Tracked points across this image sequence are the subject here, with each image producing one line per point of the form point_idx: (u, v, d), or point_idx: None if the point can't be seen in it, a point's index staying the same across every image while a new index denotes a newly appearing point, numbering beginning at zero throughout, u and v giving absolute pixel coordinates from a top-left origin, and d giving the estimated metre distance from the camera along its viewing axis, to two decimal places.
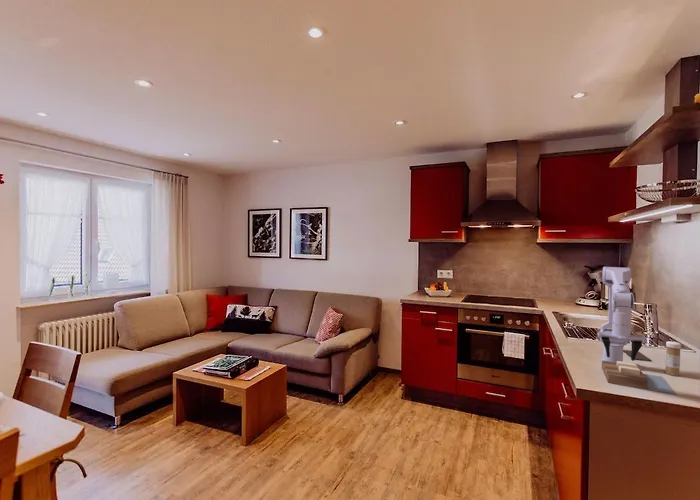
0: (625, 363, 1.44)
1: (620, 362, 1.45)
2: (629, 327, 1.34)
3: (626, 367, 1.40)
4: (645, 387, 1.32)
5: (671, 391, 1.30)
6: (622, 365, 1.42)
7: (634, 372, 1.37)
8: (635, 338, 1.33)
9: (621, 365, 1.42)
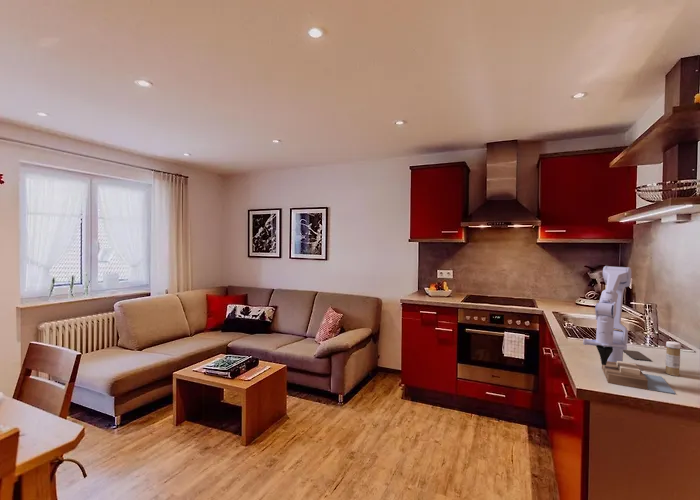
0: (625, 363, 1.44)
1: (620, 362, 1.45)
2: (611, 335, 1.43)
3: (626, 367, 1.40)
4: (645, 387, 1.32)
5: (671, 391, 1.30)
6: (622, 365, 1.42)
7: (634, 372, 1.37)
8: (617, 345, 1.42)
9: (621, 365, 1.42)
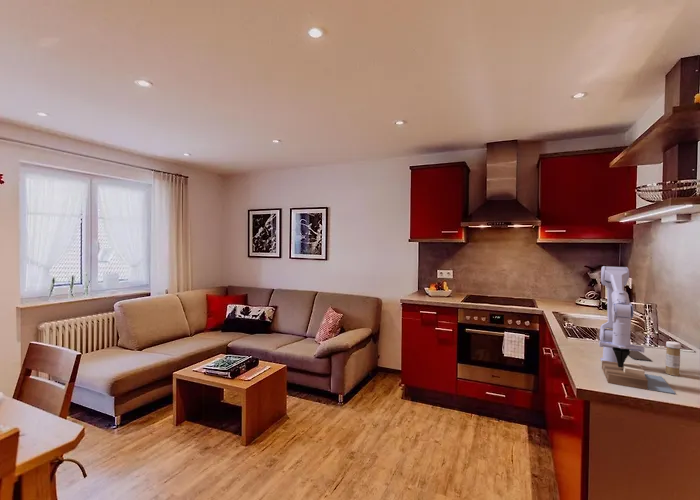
0: (629, 364, 1.43)
1: (624, 363, 1.44)
2: (628, 337, 1.40)
3: (630, 367, 1.39)
4: (645, 387, 1.32)
5: (671, 391, 1.30)
6: (627, 365, 1.41)
7: (639, 373, 1.36)
8: (634, 348, 1.39)
9: (625, 366, 1.41)
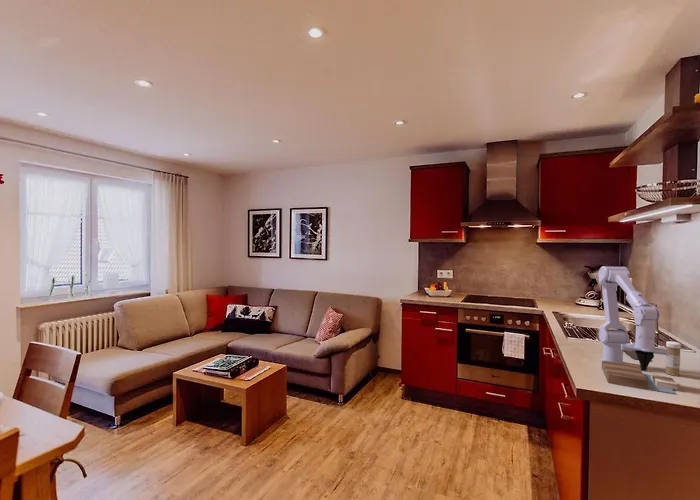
0: None
1: None
2: (653, 340, 1.36)
3: None
4: (645, 387, 1.32)
5: (671, 391, 1.30)
6: None
7: (662, 384, 1.33)
8: (659, 351, 1.36)
9: None
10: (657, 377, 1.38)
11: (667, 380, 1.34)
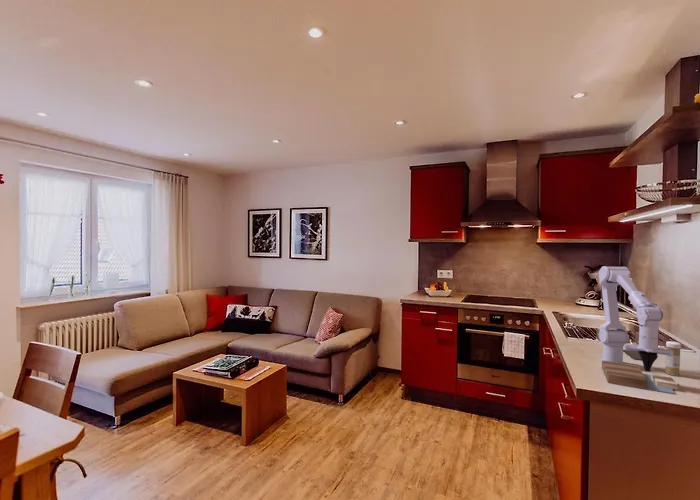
0: None
1: None
2: (656, 340, 1.36)
3: None
4: (645, 387, 1.32)
5: (671, 391, 1.30)
6: None
7: (662, 384, 1.33)
8: (662, 351, 1.35)
9: None
10: (657, 377, 1.38)
11: (667, 380, 1.34)
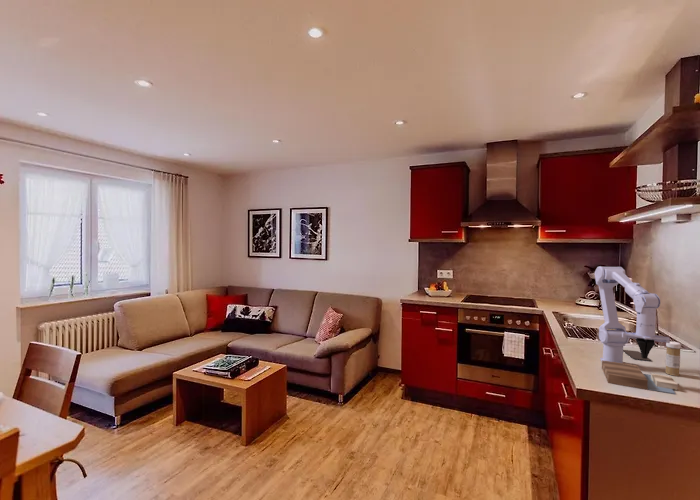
0: None
1: None
2: (653, 327, 1.36)
3: None
4: (645, 387, 1.32)
5: (671, 391, 1.30)
6: None
7: (662, 384, 1.33)
8: (659, 338, 1.36)
9: None
10: (657, 377, 1.38)
11: (667, 380, 1.34)
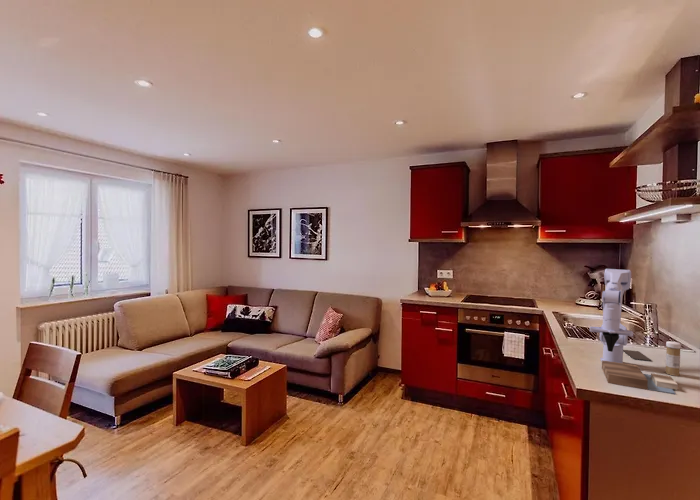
0: None
1: None
2: (618, 322, 1.45)
3: None
4: (645, 387, 1.32)
5: (671, 391, 1.30)
6: None
7: (662, 384, 1.33)
8: (623, 332, 1.44)
9: None
10: (657, 377, 1.38)
11: (667, 380, 1.34)
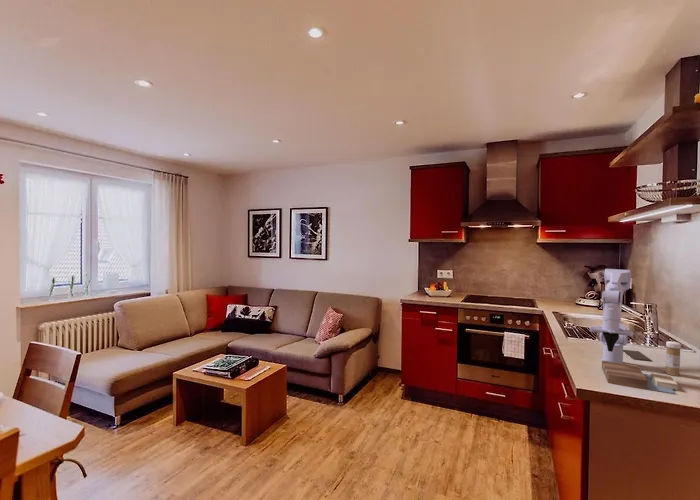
0: None
1: None
2: (618, 322, 1.45)
3: None
4: (645, 387, 1.32)
5: (671, 391, 1.30)
6: None
7: (662, 384, 1.33)
8: (623, 332, 1.44)
9: None
10: (657, 377, 1.38)
11: (667, 380, 1.34)
